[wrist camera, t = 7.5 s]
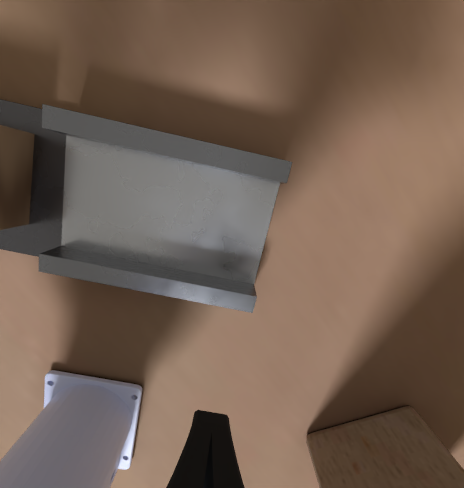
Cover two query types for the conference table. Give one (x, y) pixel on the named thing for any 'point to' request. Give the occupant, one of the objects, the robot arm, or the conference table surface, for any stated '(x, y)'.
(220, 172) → the chute
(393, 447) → the wooden block
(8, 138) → the walnut block
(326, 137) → the conference table surface
